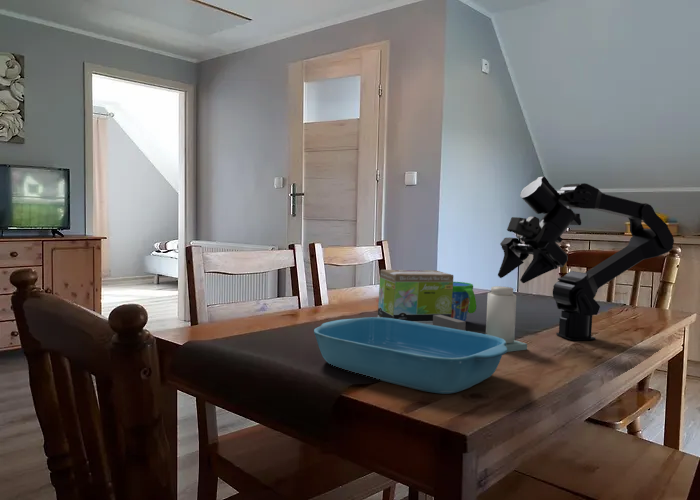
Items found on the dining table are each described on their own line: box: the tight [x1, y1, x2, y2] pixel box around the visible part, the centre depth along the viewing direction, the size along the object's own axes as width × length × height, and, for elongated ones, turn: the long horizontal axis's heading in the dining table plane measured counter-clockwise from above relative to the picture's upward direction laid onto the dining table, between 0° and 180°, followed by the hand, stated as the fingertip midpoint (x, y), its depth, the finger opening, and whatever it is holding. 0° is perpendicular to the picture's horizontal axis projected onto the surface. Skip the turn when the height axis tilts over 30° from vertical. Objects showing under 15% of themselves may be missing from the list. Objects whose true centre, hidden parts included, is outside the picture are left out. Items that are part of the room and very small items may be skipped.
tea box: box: [377, 269, 454, 325], centre depth 133 cm, size 15×10×15 cm
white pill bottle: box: [485, 285, 517, 343], centre depth 121 cm, size 6×6×11 cm
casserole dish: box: [313, 316, 508, 395], centre depth 101 cm, size 37×22×7 cm, turn 50°
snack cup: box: [451, 281, 477, 322], centre depth 149 cm, size 16×10×10 cm
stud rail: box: [433, 315, 528, 353], centre depth 119 cm, size 19×8×7 cm, turn 119°
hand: (510, 279), depth 127 cm, fingers open, 9 cm apart
